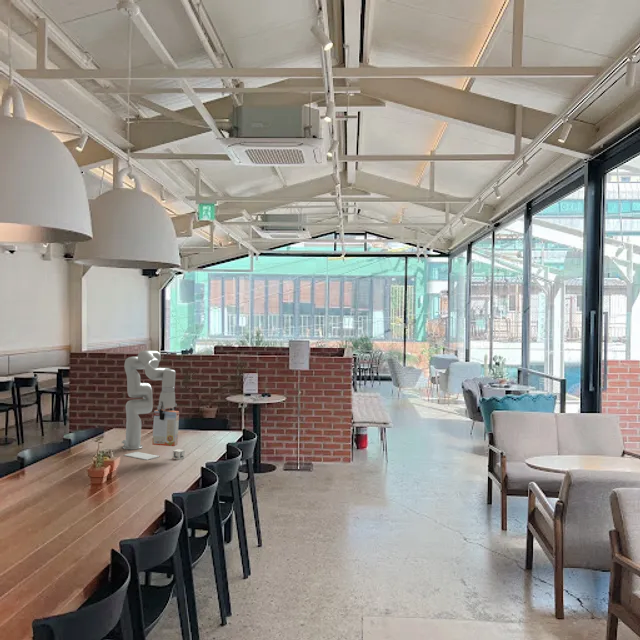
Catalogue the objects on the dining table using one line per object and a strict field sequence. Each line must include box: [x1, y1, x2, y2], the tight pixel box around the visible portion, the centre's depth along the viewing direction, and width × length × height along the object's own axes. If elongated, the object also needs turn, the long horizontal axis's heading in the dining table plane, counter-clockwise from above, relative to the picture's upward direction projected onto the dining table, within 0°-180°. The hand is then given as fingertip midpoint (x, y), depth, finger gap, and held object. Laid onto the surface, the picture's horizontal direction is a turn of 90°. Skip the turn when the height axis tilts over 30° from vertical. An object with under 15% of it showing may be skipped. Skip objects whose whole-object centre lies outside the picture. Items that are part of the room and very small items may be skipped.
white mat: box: [123, 451, 160, 461], centre depth 368 cm, size 19×11×1 cm, turn 63°
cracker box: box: [151, 409, 180, 447], centre depth 360 cm, size 14×6×21 cm, turn 84°
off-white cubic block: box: [172, 448, 185, 461], centre depth 367 cm, size 5×5×5 cm
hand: (166, 418), depth 360 cm, fingers closed on cracker box, 7 cm apart
